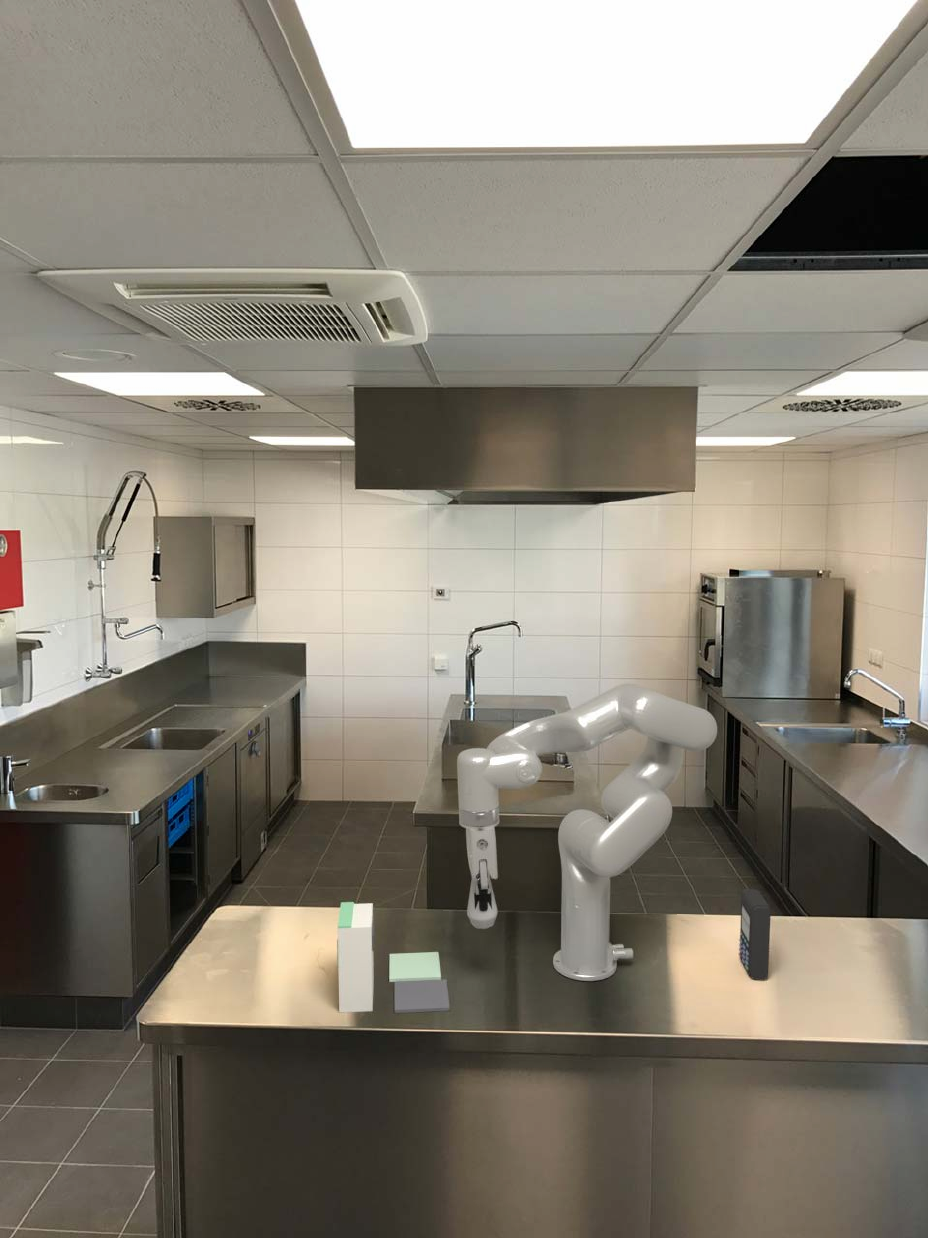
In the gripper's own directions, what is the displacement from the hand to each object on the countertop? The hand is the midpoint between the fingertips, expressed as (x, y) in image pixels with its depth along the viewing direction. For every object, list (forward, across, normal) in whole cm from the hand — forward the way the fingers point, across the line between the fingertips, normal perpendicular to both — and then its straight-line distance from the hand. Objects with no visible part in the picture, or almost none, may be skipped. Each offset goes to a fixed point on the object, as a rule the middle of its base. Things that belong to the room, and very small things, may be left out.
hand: (482, 907), depth 167 cm
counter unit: (+15, -2, +24) cm, 29 cm away
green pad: (+15, +8, +13) cm, 22 cm away
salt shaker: (+4, 0, 0) cm, 4 cm away
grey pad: (+15, -3, +12) cm, 20 cm away
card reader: (+18, +2, -54) cm, 57 cm away
